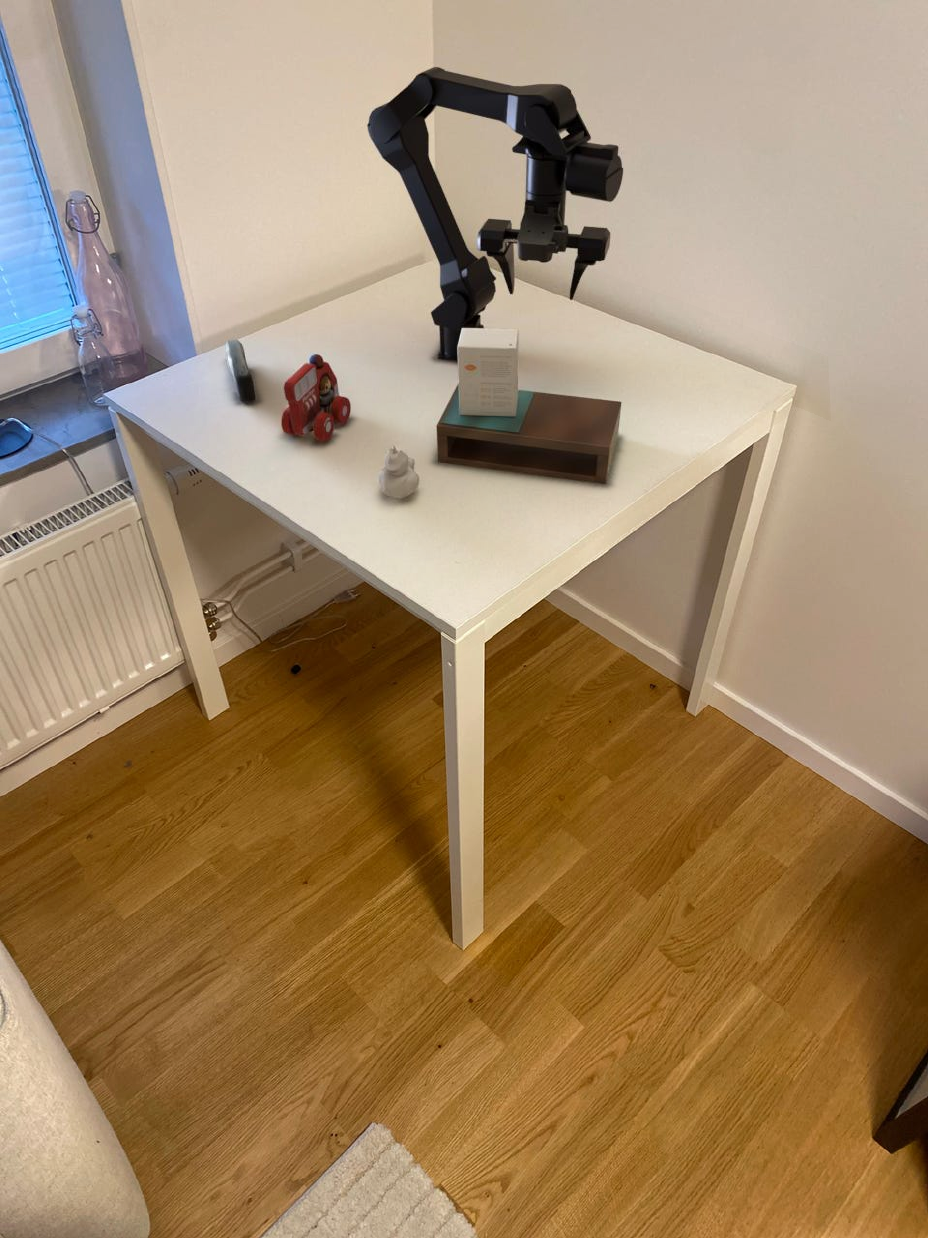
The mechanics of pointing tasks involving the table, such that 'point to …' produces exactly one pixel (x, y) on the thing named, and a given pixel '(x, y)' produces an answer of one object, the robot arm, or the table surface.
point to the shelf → (535, 437)
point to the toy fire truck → (314, 401)
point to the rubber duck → (398, 474)
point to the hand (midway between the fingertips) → (541, 295)
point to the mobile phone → (240, 371)
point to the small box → (488, 371)
